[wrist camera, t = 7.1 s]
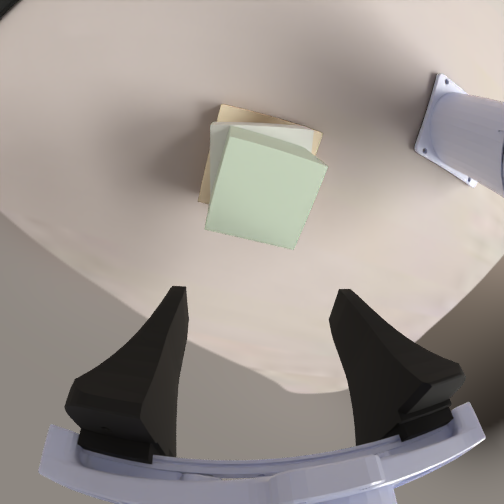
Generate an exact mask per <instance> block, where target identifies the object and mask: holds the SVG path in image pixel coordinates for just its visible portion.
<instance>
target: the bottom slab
mask: <svg viewBox="0 0 504 504" xmlns="http://www.w3.org/2000/svg"><path fill="white" fill-rule="evenodd" d="M217 122H253V123H272V124H286V125H298V126H302V125H299V124H296V123H292V122H289V121H286V120H283V119H279V118H276V117H272V116H269V115H265V114H262V113H258V112H254V111H250V110H246V109H242V108H238V107H234V106H230V105H225V104H221V107H220V111H219V114H218V118H217ZM310 129H311V128H310ZM312 130H314V129H312ZM322 135H323V133H321V132H319V131H316V130H314V133H313V143H312V154H313V155H314V156H316V153H317V150H318V147H319V144H320V141H321V138H322ZM198 202H202V203H206V204H209V202H210V149H209V153H208V158H207V162H206V166H205V170H204V175H203V179H202V184H201V188H200V193H199V198H198Z"/></svg>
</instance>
